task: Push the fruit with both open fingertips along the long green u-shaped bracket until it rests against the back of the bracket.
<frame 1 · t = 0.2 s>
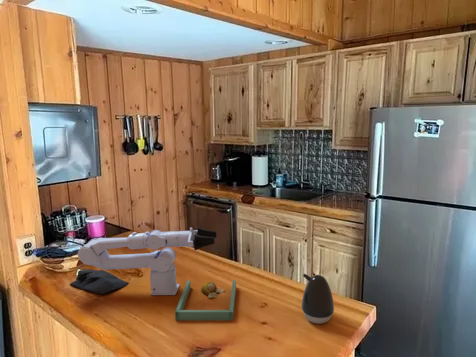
hand: (215, 237, 132), 21 cm above the countertop, tool horizontal, fingers open, 7 cm apart
green u-shaped bracket: (206, 308, 123), on the countertop
pump dispenser: (317, 319, 115), on the countertop
black fabric pouch: (99, 285, 143), on the countertop
fruit: (212, 294, 134), on the countertop
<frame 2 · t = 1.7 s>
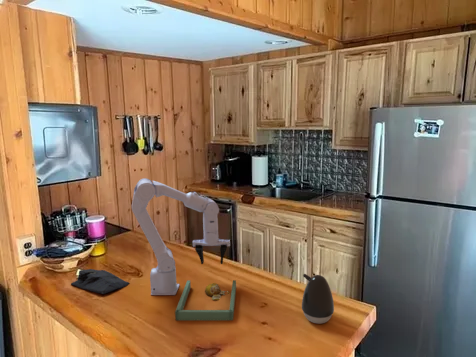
hand: (212, 263, 140), 8 cm above the countertop, tool pointing down, fingers open, 7 cm apart
fruit: (216, 296, 132), on the countertop
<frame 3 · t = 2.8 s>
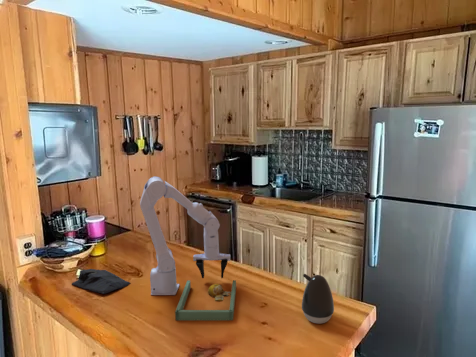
hand: (212, 277, 141), 2 cm above the countertop, tool pointing down, fingers open, 7 cm apart
fruit: (219, 296, 132), on the countertop, touching green u-shaped bracket
everything else where it was.
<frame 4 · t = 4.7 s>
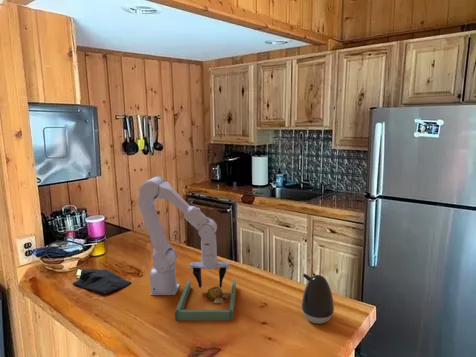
hand: (210, 286, 134), 2 cm above the countertop, tool pointing down, fingers open, 7 cm apart
fruit: (218, 299, 130), on the countertop, touching gripper
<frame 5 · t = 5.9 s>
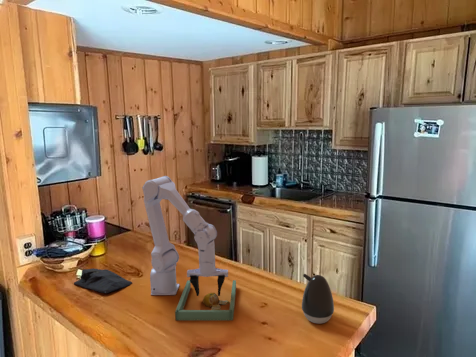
hand: (208, 294, 128), 2 cm above the countertop, tool pointing down, fingers open, 7 cm apart
fruit: (215, 306, 125), on the countertop
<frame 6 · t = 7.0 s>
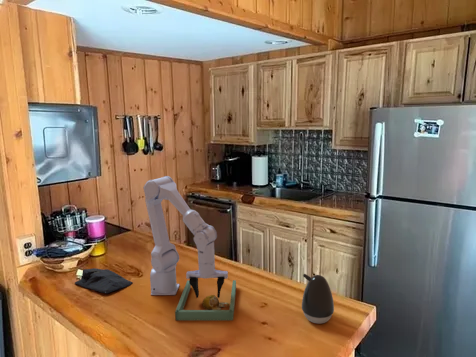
hand: (208, 296, 126), 2 cm above the countertop, tool pointing down, fingers open, 7 cm apart
fruit: (215, 309, 124), on the countertop
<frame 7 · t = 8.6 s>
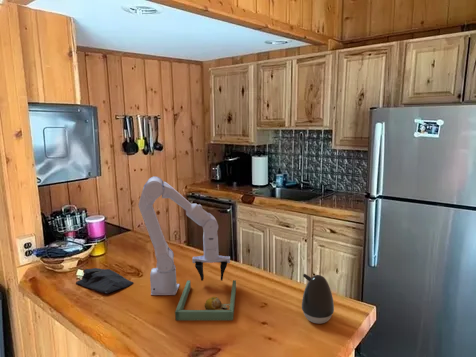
hand: (212, 279, 139), 2 cm above the countertop, tool pointing down, fingers open, 7 cm apart
fruit: (217, 310, 123), on the countertop
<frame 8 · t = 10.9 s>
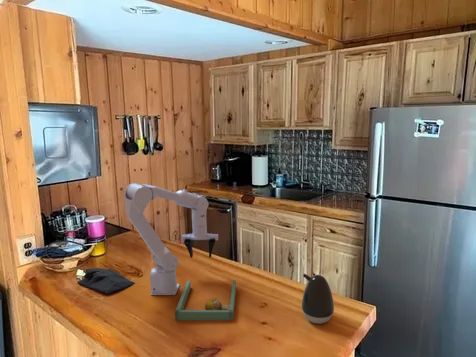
hand: (200, 256, 144), 9 cm above the countertop, tool pointing down, fingers open, 7 cm apart
fruit: (218, 312, 121), on the countertop
at the end: fruit inside the target area on the green u-shaped bracket (4.1 cm from its centre), point -0.5 cm above the green u-shaped bracket's base; fruit moved 13.2 cm from its start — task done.
